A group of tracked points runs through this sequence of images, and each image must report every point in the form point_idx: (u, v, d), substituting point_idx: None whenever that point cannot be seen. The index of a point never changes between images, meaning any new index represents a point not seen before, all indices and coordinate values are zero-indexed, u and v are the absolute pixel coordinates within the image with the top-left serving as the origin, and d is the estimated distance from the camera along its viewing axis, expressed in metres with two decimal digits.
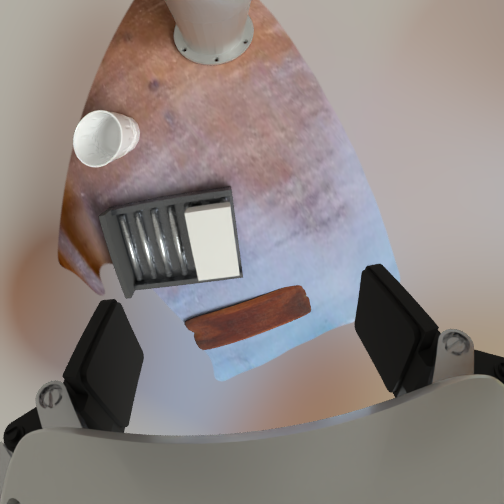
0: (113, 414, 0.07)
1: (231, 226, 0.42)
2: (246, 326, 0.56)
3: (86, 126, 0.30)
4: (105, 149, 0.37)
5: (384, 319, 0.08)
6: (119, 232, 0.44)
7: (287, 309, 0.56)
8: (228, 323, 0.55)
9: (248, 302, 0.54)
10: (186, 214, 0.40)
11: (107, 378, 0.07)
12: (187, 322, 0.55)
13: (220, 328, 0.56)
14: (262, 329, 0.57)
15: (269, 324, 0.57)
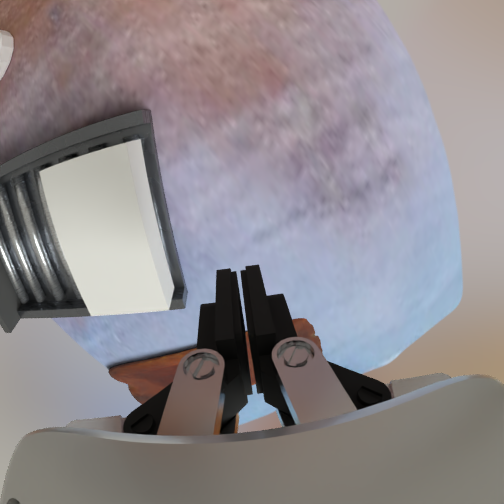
0: (247, 380, 0.08)
1: (132, 193, 0.15)
2: None
3: None
4: None
5: None
6: None
7: None
8: None
9: None
10: (42, 173, 0.13)
11: (244, 342, 0.08)
12: (111, 371, 0.28)
13: (165, 384, 0.29)
14: None
15: None
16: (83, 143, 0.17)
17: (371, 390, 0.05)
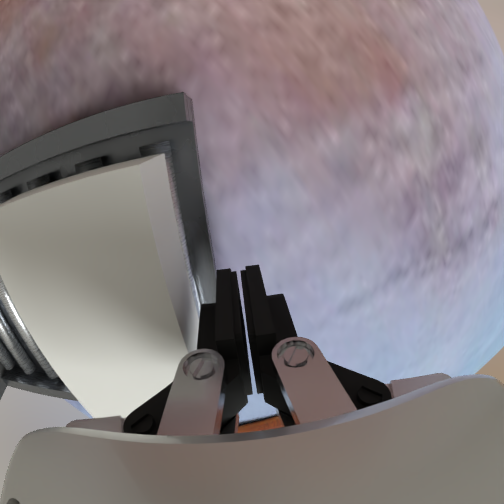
0: (247, 380, 0.08)
1: (157, 277, 0.07)
2: None
3: None
4: None
5: None
6: None
7: None
8: None
9: (251, 427, 0.20)
10: None
11: (244, 342, 0.08)
12: None
13: None
14: None
15: None
16: (68, 155, 0.09)
17: (371, 390, 0.05)
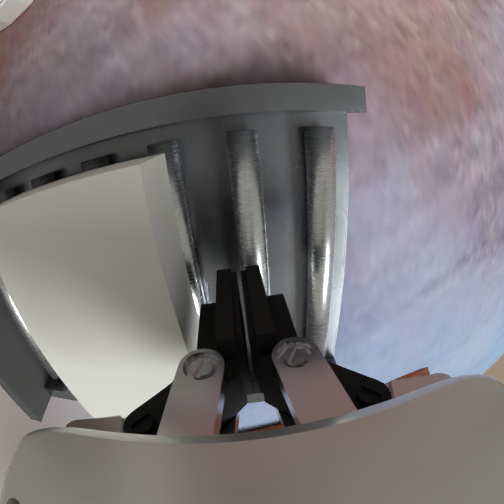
0: (247, 380, 0.08)
1: (157, 277, 0.07)
2: None
3: None
4: None
5: None
6: None
7: None
8: None
9: None
10: None
11: (244, 342, 0.08)
12: None
13: None
14: None
15: None
16: (205, 122, 0.10)
17: (371, 390, 0.05)
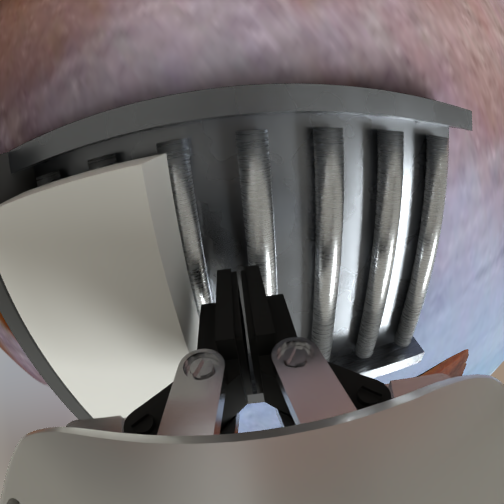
0: (248, 380, 0.08)
1: (159, 277, 0.07)
2: None
3: None
4: None
5: None
6: None
7: None
8: None
9: None
10: None
11: (245, 342, 0.08)
12: None
13: None
14: None
15: None
16: (358, 117, 0.10)
17: (371, 390, 0.05)
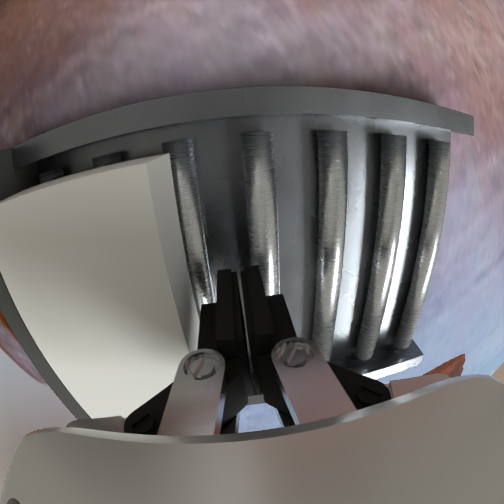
0: (248, 380, 0.08)
1: (161, 276, 0.07)
2: None
3: None
4: None
5: None
6: None
7: None
8: None
9: None
10: None
11: None
12: None
13: None
14: None
15: None
16: (362, 120, 0.10)
17: (370, 390, 0.05)
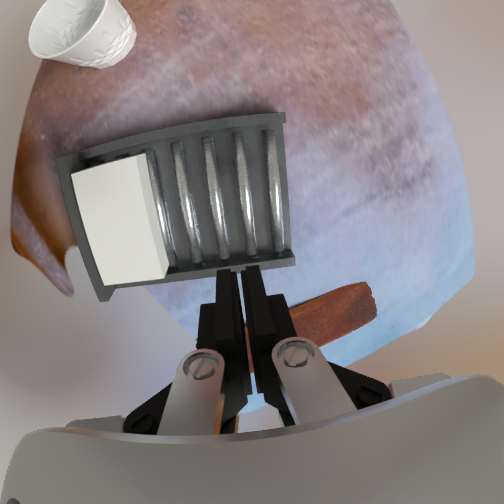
0: (247, 380, 0.08)
1: (140, 191, 0.22)
2: None
3: (55, 14, 0.11)
4: None
5: None
6: None
7: (347, 317, 0.36)
8: None
9: (293, 310, 0.35)
10: (73, 176, 0.21)
11: (244, 342, 0.08)
12: None
13: (250, 350, 0.37)
14: None
15: (321, 340, 0.38)
16: (223, 129, 0.25)
17: (371, 390, 0.05)
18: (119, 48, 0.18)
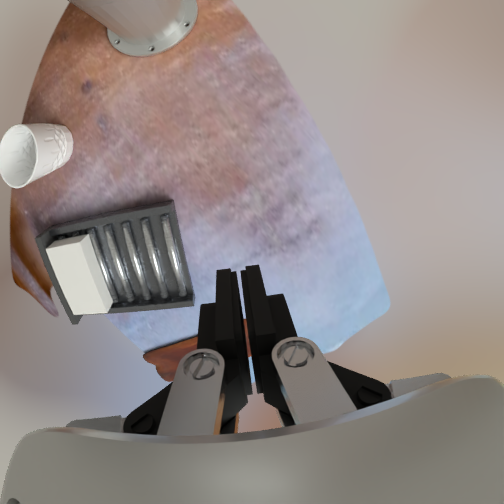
0: (247, 380, 0.08)
1: (85, 262, 0.33)
2: None
3: (12, 142, 0.22)
4: None
5: None
6: None
7: None
8: None
9: None
10: (47, 250, 0.32)
11: (244, 342, 0.08)
12: (144, 355, 0.47)
13: None
14: None
15: None
16: None
17: (371, 390, 0.05)
18: (60, 161, 0.28)
